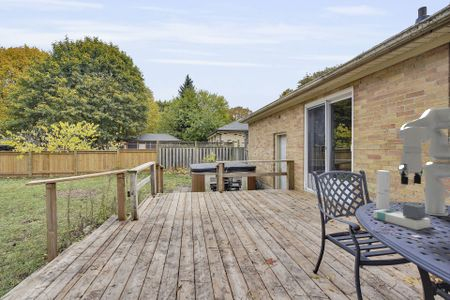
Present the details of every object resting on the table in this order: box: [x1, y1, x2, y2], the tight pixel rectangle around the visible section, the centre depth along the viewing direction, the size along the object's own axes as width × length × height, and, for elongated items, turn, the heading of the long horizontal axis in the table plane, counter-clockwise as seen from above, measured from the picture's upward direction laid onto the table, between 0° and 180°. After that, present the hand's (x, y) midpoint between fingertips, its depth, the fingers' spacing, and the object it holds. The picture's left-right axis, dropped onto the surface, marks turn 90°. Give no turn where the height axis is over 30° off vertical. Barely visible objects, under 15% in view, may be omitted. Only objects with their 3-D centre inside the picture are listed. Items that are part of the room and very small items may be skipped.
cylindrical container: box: [375, 169, 391, 210], centre depth 160 cm, size 7×7×25 cm
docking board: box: [372, 208, 431, 231], centre depth 133 cm, size 22×12×4 cm, turn 25°
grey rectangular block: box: [402, 203, 426, 219], centre depth 127 cm, size 6×7×10 cm
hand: (410, 184), depth 128 cm, fingers open, 9 cm apart
